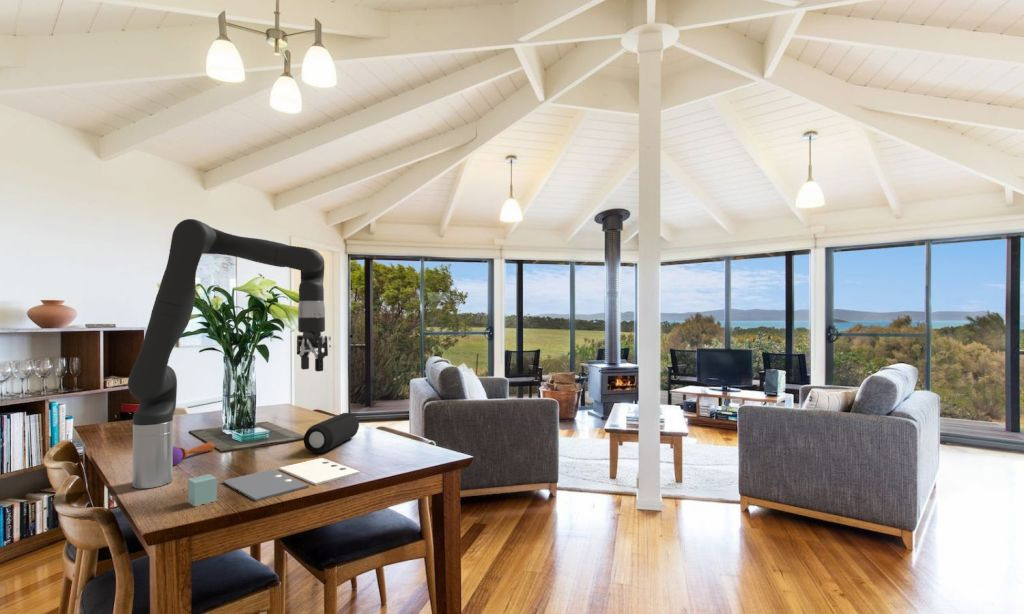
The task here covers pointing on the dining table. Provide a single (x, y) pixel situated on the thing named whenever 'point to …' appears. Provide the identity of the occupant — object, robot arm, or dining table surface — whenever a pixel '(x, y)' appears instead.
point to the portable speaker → (331, 432)
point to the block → (202, 489)
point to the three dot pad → (319, 471)
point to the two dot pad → (265, 484)
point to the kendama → (190, 451)
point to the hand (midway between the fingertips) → (312, 370)
